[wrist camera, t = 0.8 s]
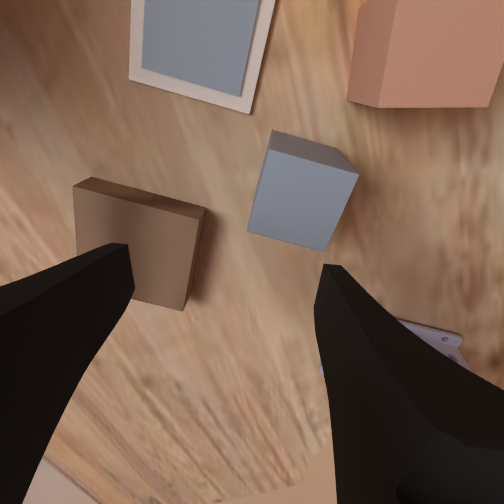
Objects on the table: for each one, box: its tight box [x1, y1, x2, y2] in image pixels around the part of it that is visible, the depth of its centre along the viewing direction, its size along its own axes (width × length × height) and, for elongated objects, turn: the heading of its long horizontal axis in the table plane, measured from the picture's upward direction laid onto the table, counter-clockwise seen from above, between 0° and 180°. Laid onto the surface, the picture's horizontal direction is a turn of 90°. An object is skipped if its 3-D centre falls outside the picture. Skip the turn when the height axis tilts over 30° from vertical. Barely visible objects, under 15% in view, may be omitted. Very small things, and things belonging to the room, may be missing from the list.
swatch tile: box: [129, 0, 276, 114], centre depth 15 cm, size 7×7×1 cm
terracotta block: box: [346, 0, 504, 108], centre depth 13 cm, size 4×4×6 cm
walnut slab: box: [73, 177, 206, 311], centre depth 21 cm, size 8×8×2 cm
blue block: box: [247, 130, 359, 252], centre depth 16 cm, size 4×4×6 cm
